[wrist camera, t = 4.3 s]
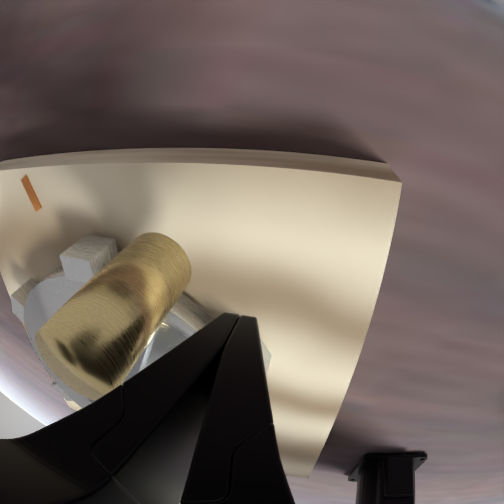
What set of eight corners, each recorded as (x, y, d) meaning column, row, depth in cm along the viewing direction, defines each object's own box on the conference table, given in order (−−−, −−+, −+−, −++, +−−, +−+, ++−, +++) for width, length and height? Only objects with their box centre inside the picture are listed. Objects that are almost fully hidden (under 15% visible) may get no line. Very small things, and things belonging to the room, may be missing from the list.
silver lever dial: (262, 459, 20) (239, 539, 14) (85, 404, 23) (48, 461, 17) (280, 219, 11) (218, 381, 5) (1, 200, 14) (-88, 257, 8)
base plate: (313, 449, 24) (308, 478, 21) (83, 387, 28) (69, 407, 26) (387, 163, 12) (403, 183, 10) (4, 160, 17) (-28, 174, 14)
